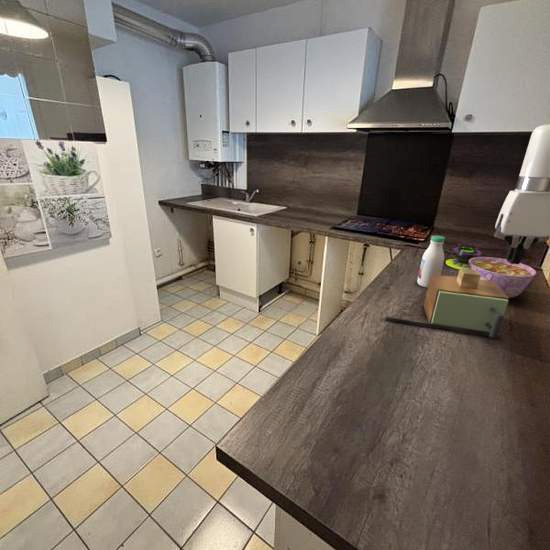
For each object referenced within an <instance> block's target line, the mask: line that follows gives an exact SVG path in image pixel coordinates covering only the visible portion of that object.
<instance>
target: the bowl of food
mask: <svg viewBox="0 0 550 550" xmlns="http://www.w3.org/2000/svg"><path fill="white" fill-rule="evenodd" d="M469 269H475V270H477V271H478V272H479V273H480V274H481V277H480V280H487V281H494V282H495V283H496V284H497V286H498V287H499V288H500V289H501V290H502V291H503V292H504V293H505V294H506V295H507V296H508V298H509V299H512V298H515V297H517V296H519V295H521V294H522V293H523V292H524V291H525V289H526V288H527V287H528V285H529V284H530V283H531V281H532V280H533V279H534V277H535V276H536V274H537V271H536V270H535V269H534V268H532V267H531V266H529V265H527V264H524V263H522V262H520V263H519V264H510V263H509V262H508V261H507V260H506V258H501V257H492V256H490V257H489V256H477V257H475V258H471V259H470V260H469Z"/></svg>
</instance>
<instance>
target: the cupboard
mask: <svg viewBox="0 0 550 550" xmlns="http://www.w3.org/2000/svg"><path fill="white" fill-rule="evenodd" d="M457 277H458V276H449V275H442V274H441V275H432V274H431V276H430V281H429V285H428V288H427V289H426V294H425V299H424V303H423V308H424V311H425V314H426V318H427V321H428V322H427V321H422V320H421V321H420V320H414V319H406V318H400V317H393V316H388V315H385V321H388V322H394V323H401V324H407V325H414V326H420V327H427V328H433V329H438V330H444V331H445V330H446V331H452V332H458V333H463V334H464V333H466V334H472V335H477V336H478V335H479V336H485V337H490V336H489V334H490V332H486V331H480V330H473V329H467V328H460V327H453V326H447V325H440V324H434V323H431V322H432V318H433V314H434V310H435V306H436V302H437V298H438V294H439V291H443V292H451V293H459V294H467V295H476V296H484V297H492V298H500V299H507V300H508V301H509V299H510V298H508V296H507V295H506V294H505V293H504V292H503V291H502V290H501V289H500V288H499V287H498V286H497V284H496V283H495V282H494V281H487V280H479V284H478V287H477V289H474V288H466V287H460V286H459V284H458V283H457ZM500 337H501V334H500V333H499V332H498V333H497V336H496V338H495V339H497V338H498V339H499V338H500Z"/></svg>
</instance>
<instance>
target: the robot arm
mask: <svg viewBox="0 0 550 550" xmlns="http://www.w3.org/2000/svg"><path fill="white" fill-rule="evenodd" d="M528 141H529V142H528V145H527V148H526V152H525V155H524V159H523V161H522V165H521V169H520V173H519V175H518V178H517V182H516V185H515V189H514V190H509V192H508V195H507V196H506V198H505V200H504V202H503V204H502V206H501V208H500V211H499V213H498V217H497V219H496V222H495V227H494V228H495V230H496V231H495V232H494V233H493V236H494V237H495V238H496V239H500V240H502V241H505V242H506V244H507V246H508V247H507V250H506V253H505V259H506V260H507V261H508V262H509V263H510V264H519V263H521V261H523V259H524V256H525V255H526V250H528V249H530V248H531V246H533V245H534V244H537V243H543V242H548V241H549V240H550V123H549V124H548V123H547V124H541V125H538V126H536V128H534V130H533V131H532V132H531V135H530V138H529V140H528ZM520 237H521V238H520Z"/></svg>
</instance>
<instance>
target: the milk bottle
mask: <svg viewBox="0 0 550 550" xmlns="http://www.w3.org/2000/svg"><path fill="white" fill-rule="evenodd" d="M445 240H446V238H445V236H443V235H431V237H430V242H429V243H430V244H429V245H428V247H427V249H425V250H424V253H423V254H422V258H421V262H420V266H419V271H418V275H417V280H416V282H417V285H419V286H421V287H422V288H427V289H428V285H429V281H430V276H431V274H432V275H441V276H442V271H443V268H444V262H445V252H444V245H443V244H445Z"/></svg>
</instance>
